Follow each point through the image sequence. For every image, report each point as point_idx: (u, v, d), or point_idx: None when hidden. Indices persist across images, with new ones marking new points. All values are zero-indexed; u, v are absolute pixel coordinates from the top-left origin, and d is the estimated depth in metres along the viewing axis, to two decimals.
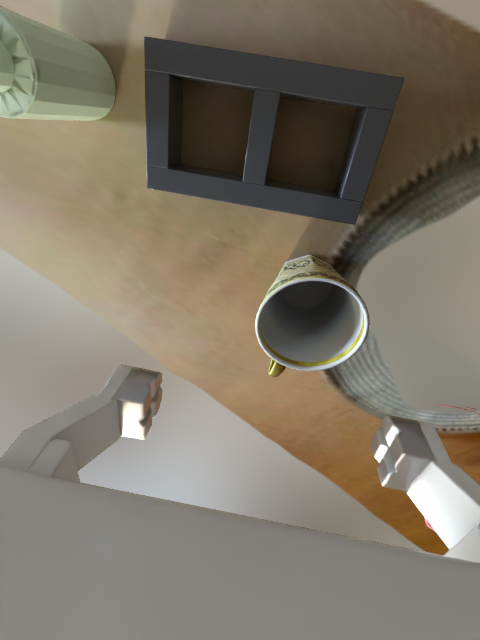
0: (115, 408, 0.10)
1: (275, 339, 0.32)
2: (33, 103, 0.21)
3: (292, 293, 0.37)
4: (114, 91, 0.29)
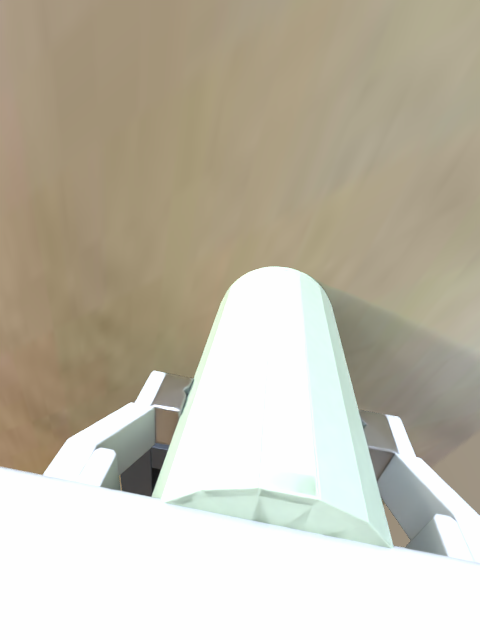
0: (152, 415, 0.10)
1: None
2: None
3: None
4: None
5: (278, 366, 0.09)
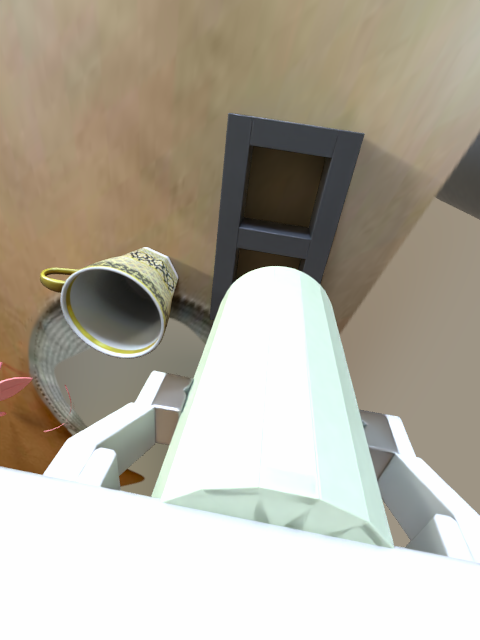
0: (152, 415, 0.10)
1: (86, 274, 0.30)
2: None
3: None
4: None
5: (278, 365, 0.09)
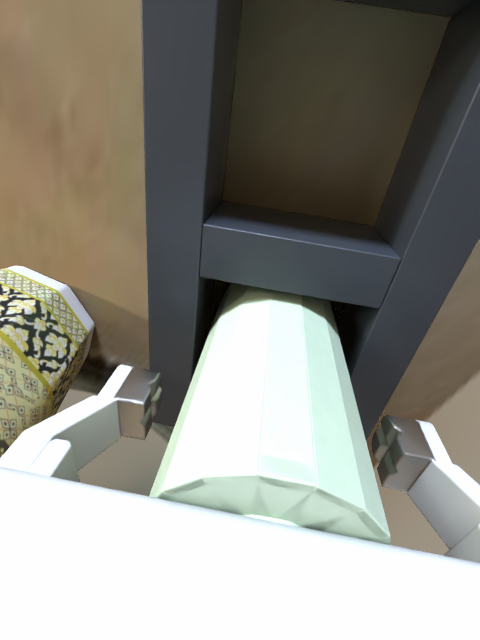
0: (115, 408, 0.10)
1: None
2: None
3: None
4: None
5: (277, 359, 0.09)
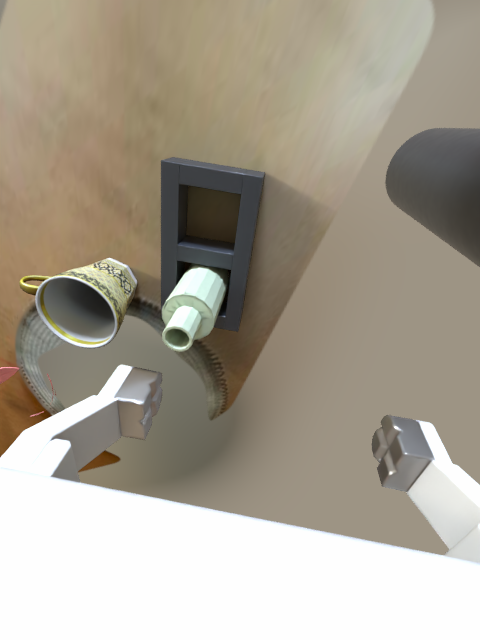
0: (115, 408, 0.10)
1: (56, 281, 0.38)
2: None
3: None
4: None
5: (194, 280, 0.36)
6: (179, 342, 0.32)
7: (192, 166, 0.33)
